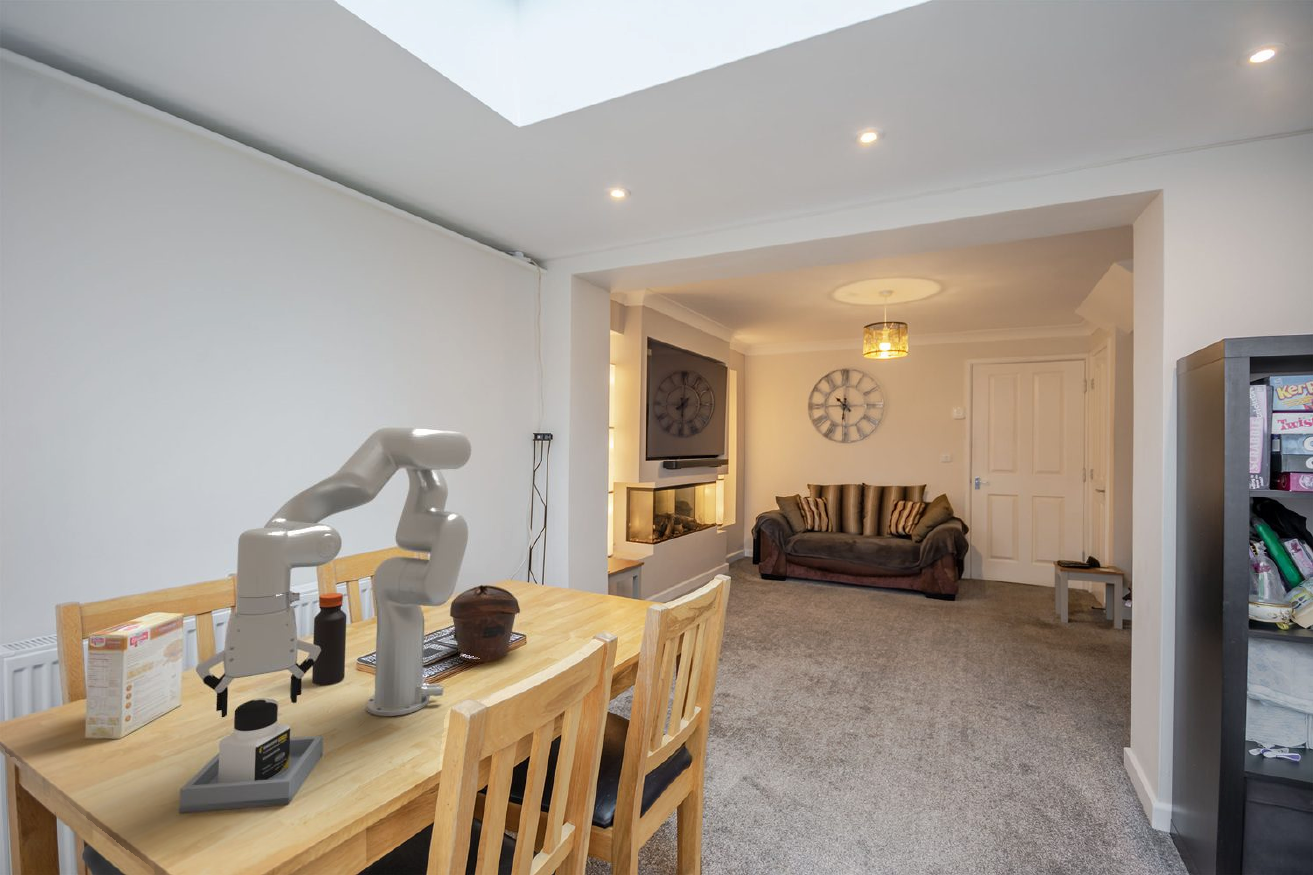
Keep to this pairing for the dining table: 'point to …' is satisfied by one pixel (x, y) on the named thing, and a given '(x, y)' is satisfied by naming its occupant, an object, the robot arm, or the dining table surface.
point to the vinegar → (330, 640)
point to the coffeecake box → (133, 674)
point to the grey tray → (252, 782)
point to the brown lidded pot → (484, 622)
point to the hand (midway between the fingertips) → (259, 706)
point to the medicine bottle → (254, 744)
